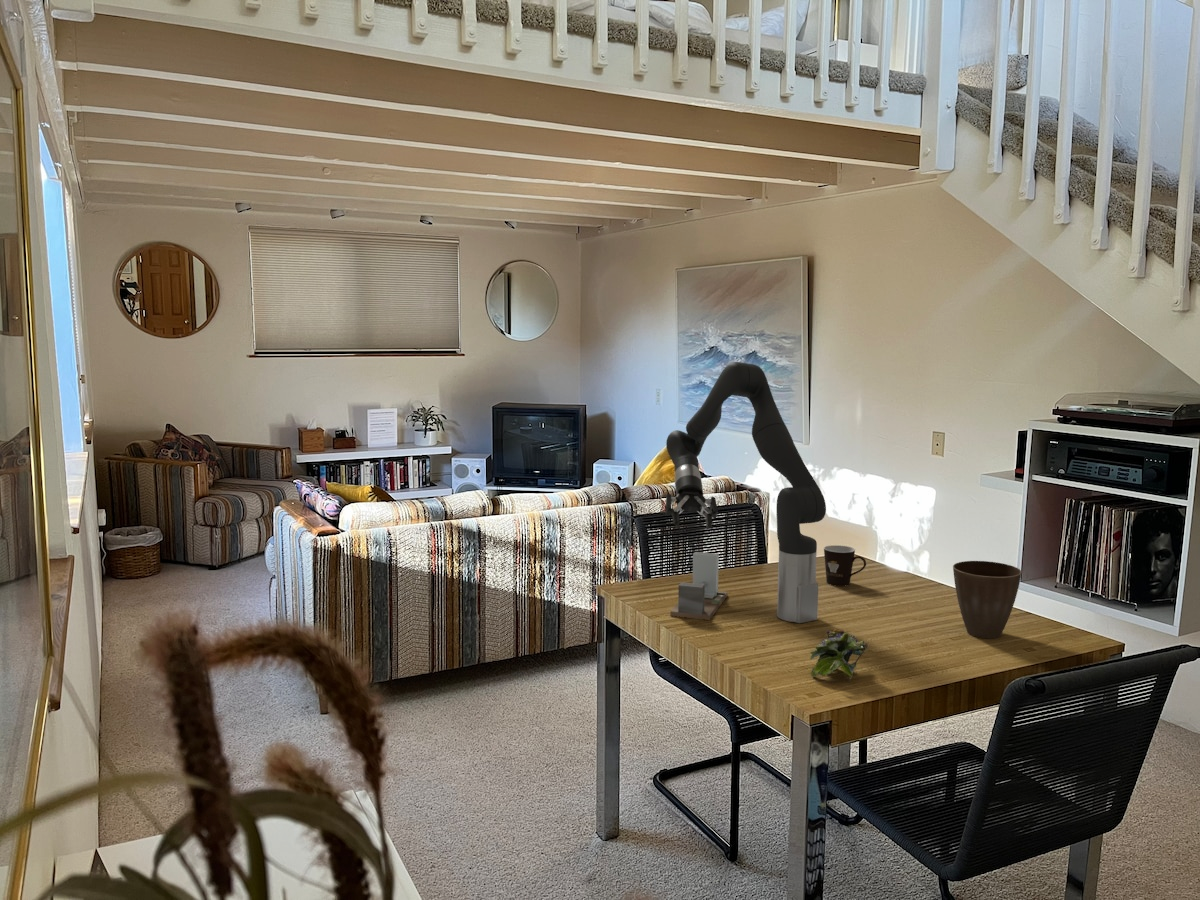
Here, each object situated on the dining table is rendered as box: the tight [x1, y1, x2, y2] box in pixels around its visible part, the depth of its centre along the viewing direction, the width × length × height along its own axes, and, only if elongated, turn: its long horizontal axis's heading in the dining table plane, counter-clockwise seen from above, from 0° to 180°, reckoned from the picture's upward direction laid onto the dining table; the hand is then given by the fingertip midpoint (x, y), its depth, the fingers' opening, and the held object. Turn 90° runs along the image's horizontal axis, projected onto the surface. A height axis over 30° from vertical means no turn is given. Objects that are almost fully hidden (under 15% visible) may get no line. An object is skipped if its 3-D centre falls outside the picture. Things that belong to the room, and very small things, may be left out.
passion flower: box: [809, 629, 869, 683], centre depth 191 cm, size 11×11×12 cm
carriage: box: [692, 551, 725, 599], centre depth 241 cm, size 8×8×11 cm
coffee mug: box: [823, 544, 867, 587], centre depth 259 cm, size 12×9×10 cm
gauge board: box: [670, 581, 728, 621], centre depth 239 cm, size 22×10×8 cm, turn 160°
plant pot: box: [952, 560, 1022, 639], centre depth 217 cm, size 15×15×16 cm
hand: (693, 525), depth 248 cm, fingers open, 8 cm apart
